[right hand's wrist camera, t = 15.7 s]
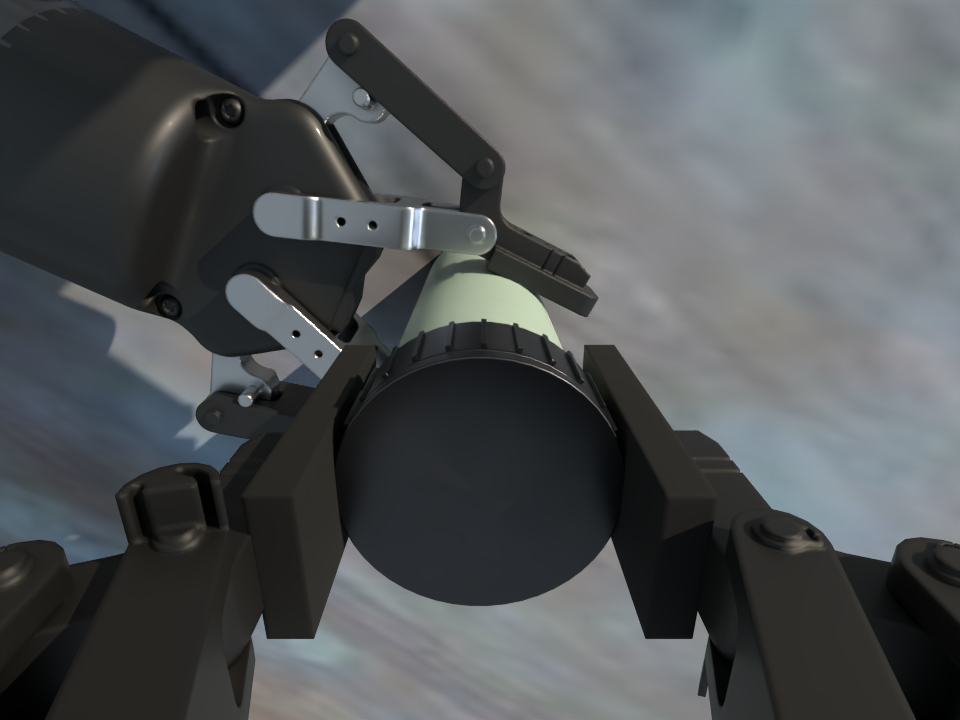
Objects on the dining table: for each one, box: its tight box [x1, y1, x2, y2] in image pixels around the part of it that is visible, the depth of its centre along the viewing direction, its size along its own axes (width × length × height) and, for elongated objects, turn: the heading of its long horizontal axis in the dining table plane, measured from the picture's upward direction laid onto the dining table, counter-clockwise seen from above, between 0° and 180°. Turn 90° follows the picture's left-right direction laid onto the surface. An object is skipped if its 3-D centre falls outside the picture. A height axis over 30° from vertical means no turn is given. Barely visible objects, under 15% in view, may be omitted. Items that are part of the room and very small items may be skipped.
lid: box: [334, 319, 625, 606], centre depth 11 cm, size 6×6×2 cm
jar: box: [398, 252, 563, 350], centre depth 18 cm, size 5×5×15 cm
